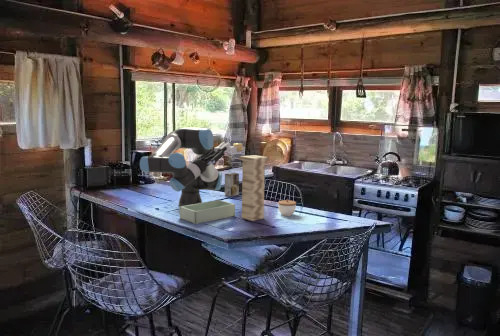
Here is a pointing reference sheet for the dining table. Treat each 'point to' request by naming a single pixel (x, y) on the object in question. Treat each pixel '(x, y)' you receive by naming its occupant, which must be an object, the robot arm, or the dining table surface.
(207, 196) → the dining table surface
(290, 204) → the lidded jar
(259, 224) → the dining table surface
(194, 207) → the bin
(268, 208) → the dining table surface
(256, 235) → the dining table surface
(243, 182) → the stand
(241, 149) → the strut
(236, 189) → the coffee box
